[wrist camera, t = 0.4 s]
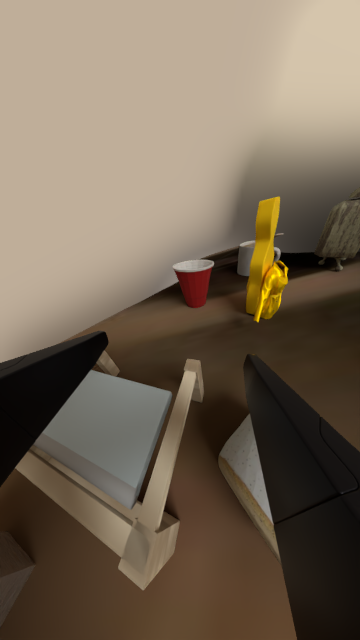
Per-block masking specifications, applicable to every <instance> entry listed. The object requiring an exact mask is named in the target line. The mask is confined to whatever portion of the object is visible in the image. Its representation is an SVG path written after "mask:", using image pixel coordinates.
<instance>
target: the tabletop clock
mask: <svg viewBox="0 0 360 640" xmlns="http://www.w3.org/2000/svg"><path fill="white" fill-rule="evenodd" d="M354 197H360V188H358V189H356V190H355V191H354V192H353V193H352V194H351V195H350V197H349V198H354ZM359 248H360V198H359V199H352V200H345V201H343V202H341V203H340V204H338V205H336V206H334V207H333V209H332V210H331V212H330V215H329V217H328V219H327V222H326V224H325V227H324V229H323V232H322V234H321V237H320V239H319V242H318V244H317V247H316V250H315V252H314V254H316V255H318V256H319V257H324V259H323V260H321V261H319V263H318V264H319V265H323V264H324V263H325V261H324V260H325V259H326V258H327V257H334V258H335V259H336V261H337V267H336V268H335V270H336V271H341V270H342V269H343V267H342V266H340V261H343V260H345V259H346V258H354V257H355V255H356V253H357V252H358V250H359Z"/></svg>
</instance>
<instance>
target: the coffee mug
mask: <svg viewBox="0 0 360 640" xmlns="http://www.w3.org/2000/svg"><path fill="white" fill-rule="evenodd" d="M254 249H255V241H248V242H244V243H242V244H240V246H239V258H238V269H237V273H238V274H240V275H243V276H249V275H250V263H251V259H252V256H253V252H254ZM274 252H275V253H276V257H275V259H274V260H273V264H274V261H278V260H279V258H280V250H279V249H278V248H275V247H274ZM273 264H272V265H273Z"/></svg>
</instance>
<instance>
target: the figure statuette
mask: <svg viewBox="0 0 360 640" xmlns="http://www.w3.org/2000/svg"><path fill="white" fill-rule="evenodd" d="M279 204H280V197H275V198H271V199H268V200H264V201H261V202H260V203H259V208H258V213H257V218H256V240H255V249H254V252H253V256H252V259H251V263H250V275H249V280H248V284H247V299H246V312H247V313H249V314H253V315H254V319H253V320H254V321H257V322H259V319H260V317H261V318H264V319H270V318H271V317H272V316H273V315H274V314H275V312H276V311H277V310H278V308H279V306H280V302H281V293H282V290H283V289H284V287H285V285H286V284H287V283H288V278H287V270H288V268H287V267H286V266H285V265H284V264H283V263H282V262H281V261H274V264H273V259H274V247H273V246H274V245H273V239H274V234H275V230H276V225H277V221H278V216H279ZM272 264H273V267H272Z"/></svg>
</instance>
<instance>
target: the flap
mask: <svg viewBox="0 0 360 640" xmlns="http://www.w3.org/2000/svg"><path fill="white" fill-rule="evenodd" d="M171 399H172V394H171V392H170V391H166V390H162V389H159V388H155V387H152V386H148V385H144V384H141V383H137V382H133V381H130V380H126V379H122V378H119V377H115V376H111V375H108V374H104V373H100V372H97V371H93V370H91V371H90V372H89V373H88V374H87V376H86V377H85V378H84V380H83V381H82V382H81V383H80V385H79V386H78V387H77V389H76V390H75V391H74V392H73V394H72V395H71V396H70V398H69V399H68V400H67V401H66V403H65V404H64V405H63V407H62V408H61V409H60V410H59V412H58V413H57V414H56V416H55V417H54V418H53V419H52V421H51V422H50V423H49V425H48V426H47V427H46V428H45V430H44V431H43V432H42V434H41V435H40V436H39V437H38V439H37V440H36V442H35V443H34V444H33V445H35V446H36V447H37V448H39V449H40V450H42V451H43V452H45V453H46V454H48V455H49V456H51V457H52V458H54V459H55V460H57V461H58V462H60V463H61V464H63V465H64V466H66V467H67V468H69V469H70V470H72V471H73V472H75V473H76V474H78V475H79V476H81V477H82V478H84V479H85V480H87V481H88V482H89V483H91V484H92V485H94V486H95V487H97V488H98V489H100V490H101V491H103V492H104V493H106V494H107V495H109V496H110V497H112V498H113V499H115V500H116V501H118V502H119V503H121V504H122V505H124V506H125V507H127V508H128V509H130V510H132V508H133V507H134V505H135V503H136V501H137V499H138V496H139V493H140V489H141V486H142V483H143V480H144V477H145V475H146V472H147V469H148V466H149V463H150V460H151V457H152V454H153V451H154V448H155V445H156V443H157V440H158V437H159V434H160V431H161V428H162V425H163V422H164V419H165V416H166V414H167V411H168V408H169V405H170V402H171Z"/></svg>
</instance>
